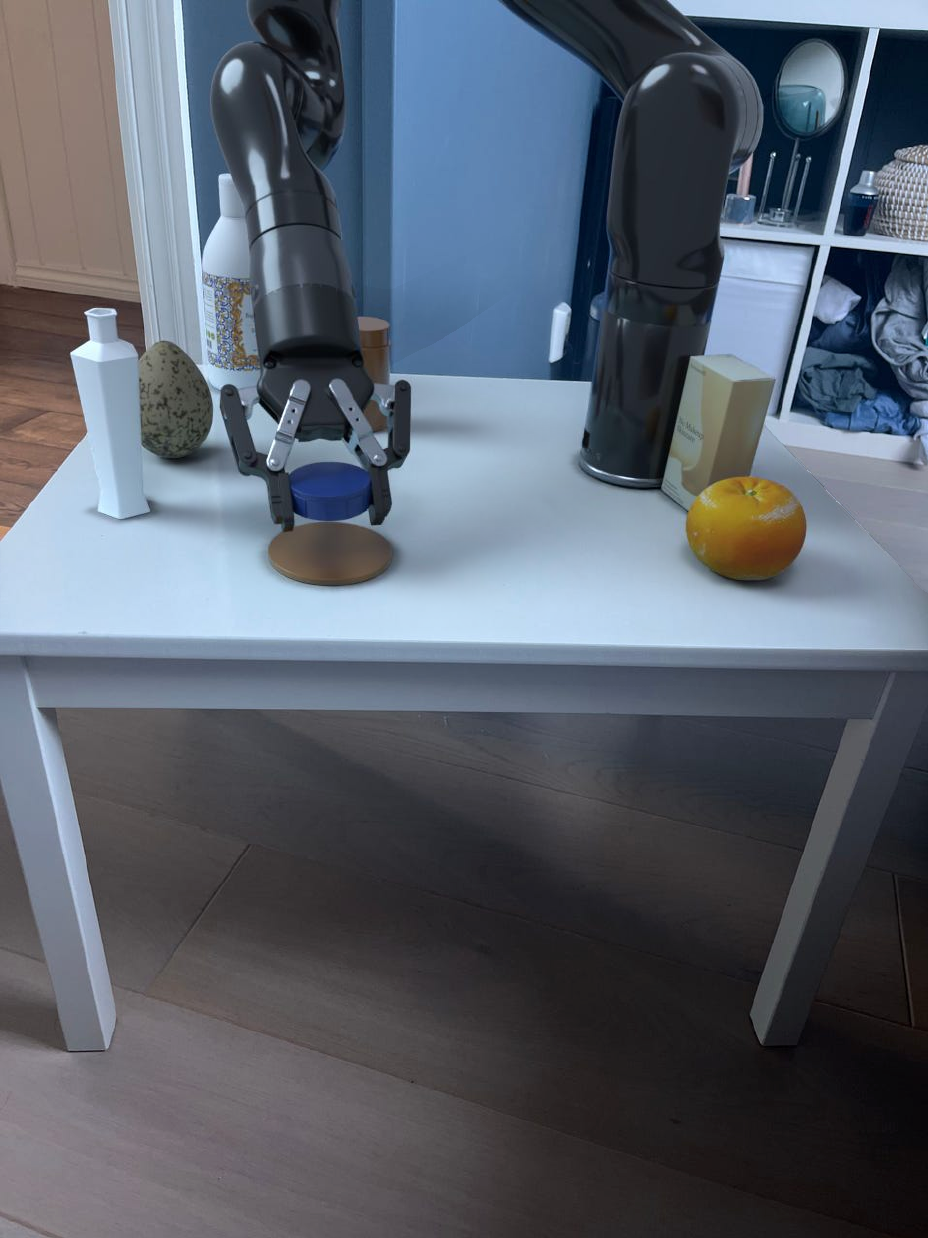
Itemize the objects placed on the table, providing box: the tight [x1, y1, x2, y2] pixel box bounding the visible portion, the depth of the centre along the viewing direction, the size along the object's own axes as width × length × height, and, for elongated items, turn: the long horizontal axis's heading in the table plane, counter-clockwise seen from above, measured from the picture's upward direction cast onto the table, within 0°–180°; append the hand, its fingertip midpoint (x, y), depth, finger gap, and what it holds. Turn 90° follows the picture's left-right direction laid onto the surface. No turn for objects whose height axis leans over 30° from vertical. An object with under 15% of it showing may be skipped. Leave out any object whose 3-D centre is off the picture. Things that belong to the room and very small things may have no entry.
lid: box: [289, 461, 371, 522], centre depth 69 cm, size 6×6×2 cm
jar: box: [357, 316, 392, 433], centre depth 92 cm, size 5×5×10 cm
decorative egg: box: [138, 340, 214, 459], centre depth 82 cm, size 7×7×10 cm
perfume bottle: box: [70, 307, 151, 520], centre depth 71 cm, size 5×4×15 cm
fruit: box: [685, 476, 808, 581], centre depth 73 cm, size 8×8×8 cm
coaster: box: [267, 521, 393, 586], centre depth 71 cm, size 9×9×1 cm
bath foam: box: [201, 173, 260, 391], centre depth 96 cm, size 7×7×20 cm
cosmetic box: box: [661, 353, 777, 512], centre depth 81 cm, size 6×4×12 cm
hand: (333, 524), depth 68 cm, fingers closed on lid, 5 cm apart
